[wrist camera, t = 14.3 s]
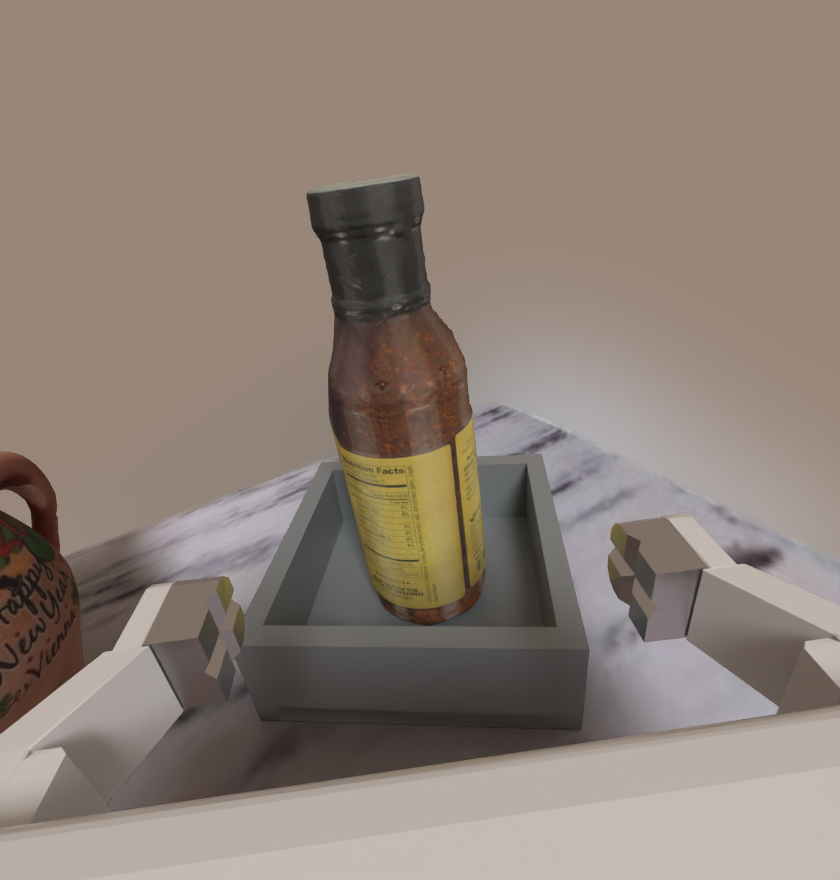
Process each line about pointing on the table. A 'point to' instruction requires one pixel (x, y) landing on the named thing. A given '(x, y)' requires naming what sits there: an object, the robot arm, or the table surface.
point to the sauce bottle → (399, 403)
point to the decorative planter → (34, 597)
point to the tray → (416, 645)
